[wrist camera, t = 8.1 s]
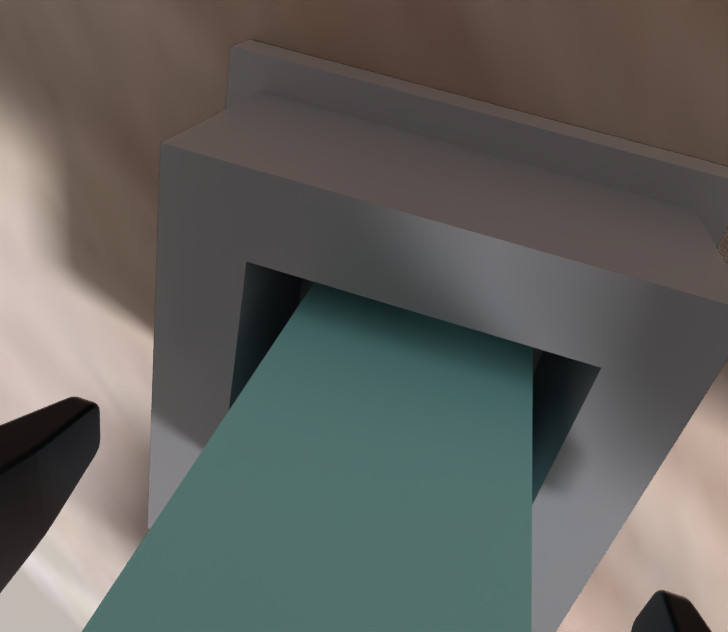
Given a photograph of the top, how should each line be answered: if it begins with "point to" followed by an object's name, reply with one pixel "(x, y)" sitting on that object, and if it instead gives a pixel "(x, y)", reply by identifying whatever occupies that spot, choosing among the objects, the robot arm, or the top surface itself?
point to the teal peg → (351, 488)
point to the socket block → (446, 272)
